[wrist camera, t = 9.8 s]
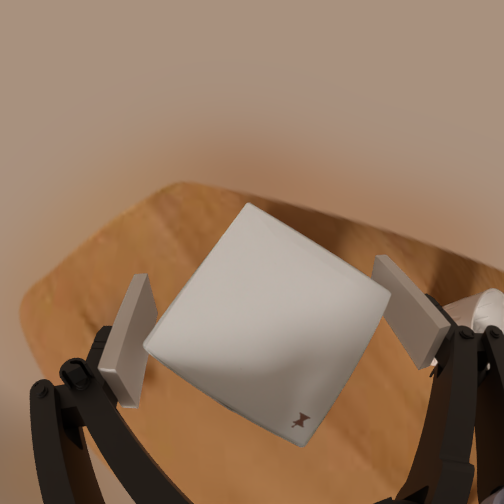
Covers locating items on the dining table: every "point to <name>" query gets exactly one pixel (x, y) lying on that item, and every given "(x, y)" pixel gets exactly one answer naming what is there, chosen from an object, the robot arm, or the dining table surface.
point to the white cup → (478, 312)
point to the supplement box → (270, 325)
